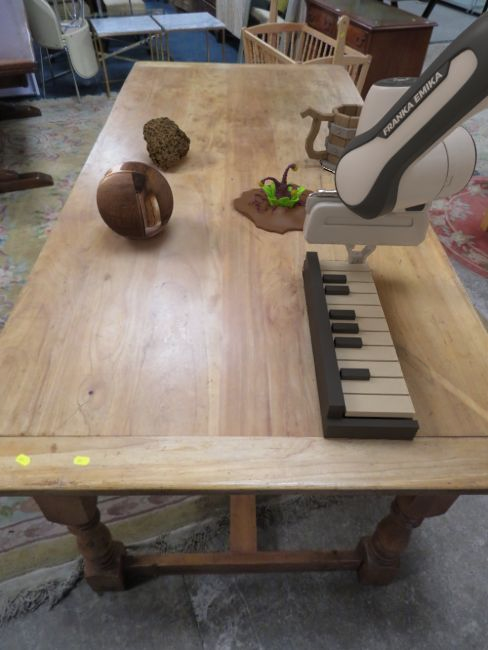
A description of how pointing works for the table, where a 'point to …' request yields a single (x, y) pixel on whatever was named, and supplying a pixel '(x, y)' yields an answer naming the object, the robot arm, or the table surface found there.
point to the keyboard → (352, 352)
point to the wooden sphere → (134, 200)
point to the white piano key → (378, 406)
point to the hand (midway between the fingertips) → (355, 262)
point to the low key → (343, 266)
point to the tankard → (332, 132)
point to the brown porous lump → (165, 142)
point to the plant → (275, 205)
